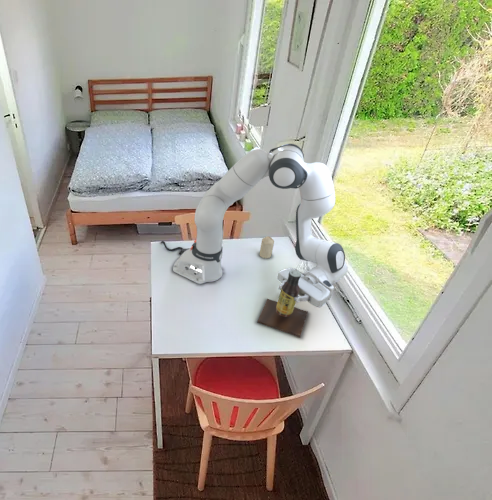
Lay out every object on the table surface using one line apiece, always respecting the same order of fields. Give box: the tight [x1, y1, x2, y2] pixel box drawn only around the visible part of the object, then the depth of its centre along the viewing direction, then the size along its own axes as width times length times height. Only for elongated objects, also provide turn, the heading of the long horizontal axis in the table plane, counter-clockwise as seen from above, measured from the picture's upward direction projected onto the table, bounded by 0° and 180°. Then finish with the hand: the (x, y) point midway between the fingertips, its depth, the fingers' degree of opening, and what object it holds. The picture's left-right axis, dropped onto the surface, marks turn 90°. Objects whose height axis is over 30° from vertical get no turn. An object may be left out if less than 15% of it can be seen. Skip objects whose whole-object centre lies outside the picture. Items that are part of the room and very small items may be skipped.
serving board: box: [256, 298, 309, 338], centre depth 149 cm, size 16×14×1 cm
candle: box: [259, 235, 275, 259], centre depth 180 cm, size 6×6×10 cm
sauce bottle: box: [276, 269, 302, 317], centre depth 142 cm, size 6×6×20 cm
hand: (287, 294), depth 141 cm, fingers closed on sauce bottle, 6 cm apart
